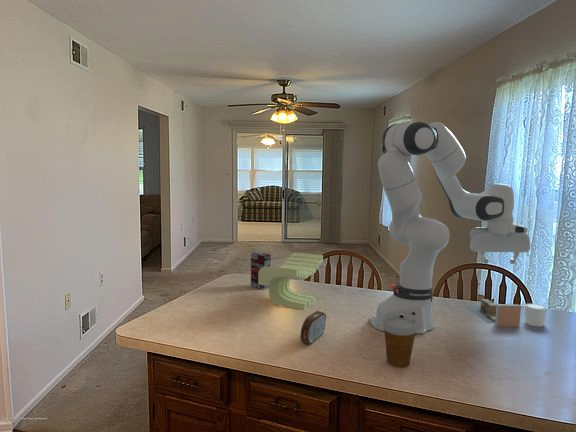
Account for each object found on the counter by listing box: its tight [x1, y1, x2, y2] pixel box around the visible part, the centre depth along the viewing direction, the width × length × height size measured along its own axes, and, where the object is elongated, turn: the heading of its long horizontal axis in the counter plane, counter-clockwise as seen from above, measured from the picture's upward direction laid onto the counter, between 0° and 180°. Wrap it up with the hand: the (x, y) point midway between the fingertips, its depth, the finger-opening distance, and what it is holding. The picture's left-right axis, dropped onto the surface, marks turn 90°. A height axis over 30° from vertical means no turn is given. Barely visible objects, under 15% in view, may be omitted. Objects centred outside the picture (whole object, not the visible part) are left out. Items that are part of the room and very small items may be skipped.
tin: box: [300, 310, 327, 345], centre depth 141 cm, size 15×3×8 cm, turn 152°
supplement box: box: [250, 251, 272, 290], centre depth 201 cm, size 9×5×16 cm, turn 50°
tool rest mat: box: [464, 305, 521, 324], centre depth 167 cm, size 12×20×1 cm, turn 1°
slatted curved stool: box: [258, 252, 324, 310], centre depth 179 cm, size 30×16×18 cm, turn 156°
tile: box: [494, 303, 522, 327], centre depth 154 cm, size 8×2×8 cm, turn 91°
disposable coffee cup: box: [383, 317, 417, 368], centre depth 124 cm, size 10×10×12 cm
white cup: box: [524, 303, 548, 327], centre depth 157 cm, size 7×7×7 cm
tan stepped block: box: [480, 298, 496, 321], centre depth 166 cm, size 14×6×4 cm, turn 1°
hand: (498, 263), depth 163 cm, fingers open, 8 cm apart
